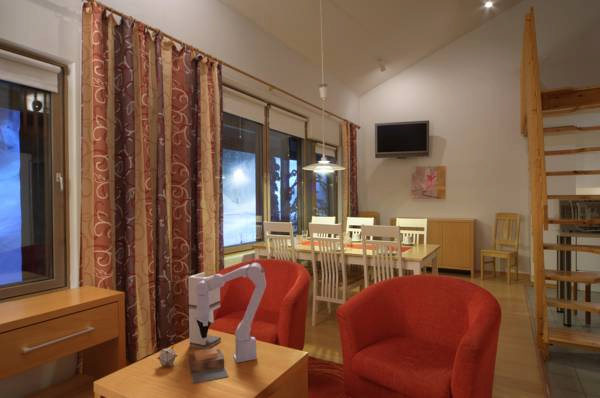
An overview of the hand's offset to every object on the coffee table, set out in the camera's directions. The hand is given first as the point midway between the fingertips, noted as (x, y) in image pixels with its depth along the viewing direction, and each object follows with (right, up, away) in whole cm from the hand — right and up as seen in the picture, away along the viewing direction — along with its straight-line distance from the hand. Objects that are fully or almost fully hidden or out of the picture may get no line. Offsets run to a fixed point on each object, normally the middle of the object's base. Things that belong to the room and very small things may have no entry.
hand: (203, 336), depth 170 cm
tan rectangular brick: (+3, -7, -6) cm, 9 cm away
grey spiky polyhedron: (-15, -11, -6) cm, 19 cm away
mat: (+7, -11, -16) cm, 20 cm away
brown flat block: (+3, -11, -6) cm, 13 cm away
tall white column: (-4, -10, +17) cm, 21 cm away
